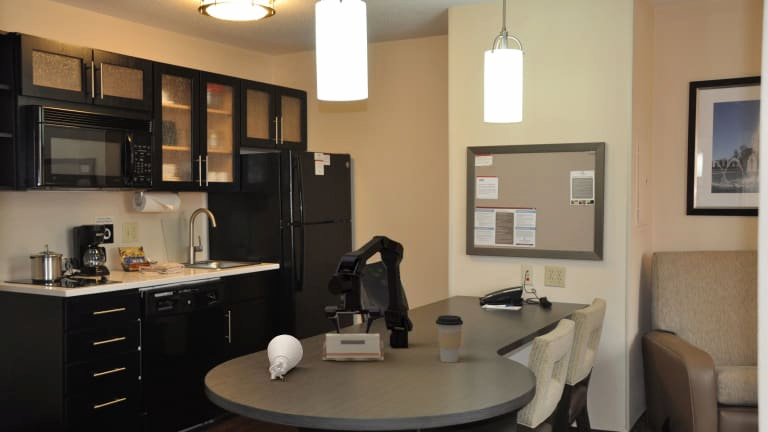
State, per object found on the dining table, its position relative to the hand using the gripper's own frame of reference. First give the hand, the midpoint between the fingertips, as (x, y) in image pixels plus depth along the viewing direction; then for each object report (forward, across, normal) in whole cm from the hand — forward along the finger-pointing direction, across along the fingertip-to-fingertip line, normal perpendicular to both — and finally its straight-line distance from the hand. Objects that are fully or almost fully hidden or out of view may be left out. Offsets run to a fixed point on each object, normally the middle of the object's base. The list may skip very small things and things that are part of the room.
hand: (352, 336), depth 245 cm
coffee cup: (+9, -33, -2) cm, 34 cm away
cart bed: (+9, 0, -9) cm, 13 cm away
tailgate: (+7, 0, -2) cm, 8 cm away
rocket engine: (+9, +24, +15) cm, 29 cm away
